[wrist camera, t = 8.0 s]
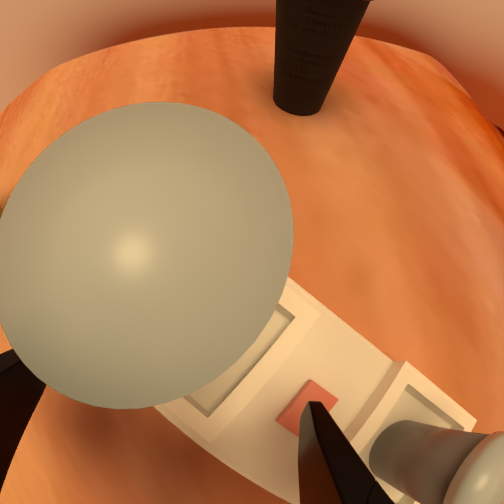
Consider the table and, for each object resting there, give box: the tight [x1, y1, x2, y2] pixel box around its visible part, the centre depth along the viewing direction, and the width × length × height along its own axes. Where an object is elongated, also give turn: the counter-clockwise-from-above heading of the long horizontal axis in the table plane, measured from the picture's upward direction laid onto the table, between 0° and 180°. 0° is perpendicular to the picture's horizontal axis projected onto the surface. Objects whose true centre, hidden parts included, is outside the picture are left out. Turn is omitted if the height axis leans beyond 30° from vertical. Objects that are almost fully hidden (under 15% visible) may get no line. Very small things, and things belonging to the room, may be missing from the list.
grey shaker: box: [0, 102, 294, 409], centre depth 10 cm, size 5×5×13 cm
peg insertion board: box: [153, 277, 504, 504], centre depth 11 cm, size 11×25×10 cm, turn 50°
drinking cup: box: [273, 0, 373, 116], centre depth 16 cm, size 8×8×20 cm
